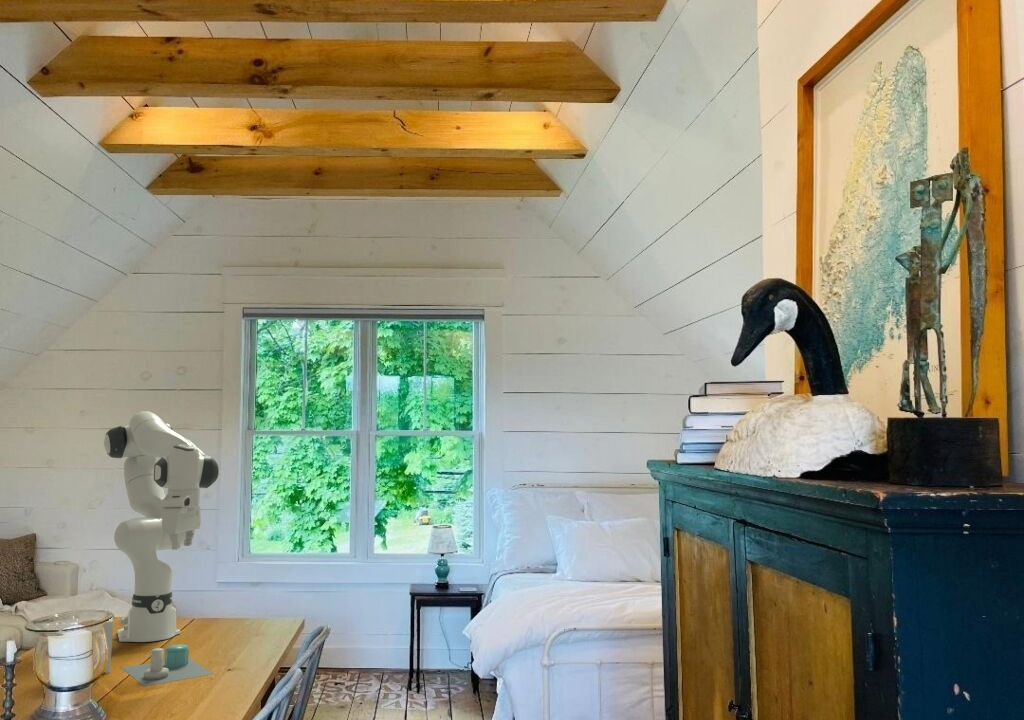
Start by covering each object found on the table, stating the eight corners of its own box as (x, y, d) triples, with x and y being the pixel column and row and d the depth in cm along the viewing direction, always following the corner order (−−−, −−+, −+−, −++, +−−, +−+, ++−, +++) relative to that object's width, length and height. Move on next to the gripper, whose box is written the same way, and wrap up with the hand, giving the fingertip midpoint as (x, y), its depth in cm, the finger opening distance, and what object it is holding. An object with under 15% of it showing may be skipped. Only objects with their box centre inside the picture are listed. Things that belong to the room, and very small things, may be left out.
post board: (121, 672, 225) (122, 641, 226) (187, 661, 236) (188, 632, 237) (143, 691, 208) (145, 658, 209) (213, 678, 219) (215, 647, 220)
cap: (162, 663, 229) (163, 646, 229) (183, 660, 233) (184, 643, 233) (168, 668, 224) (169, 650, 225) (190, 664, 228) (191, 647, 229)
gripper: (186, 498, 249) (184, 544, 247) (158, 501, 229) (156, 551, 227) (206, 497, 249) (205, 543, 247) (181, 501, 229) (179, 551, 227)
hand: (181, 547), depth 237 cm, fingers open, 8 cm apart
